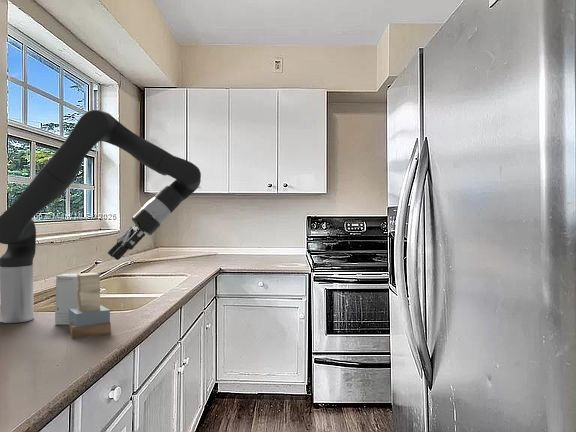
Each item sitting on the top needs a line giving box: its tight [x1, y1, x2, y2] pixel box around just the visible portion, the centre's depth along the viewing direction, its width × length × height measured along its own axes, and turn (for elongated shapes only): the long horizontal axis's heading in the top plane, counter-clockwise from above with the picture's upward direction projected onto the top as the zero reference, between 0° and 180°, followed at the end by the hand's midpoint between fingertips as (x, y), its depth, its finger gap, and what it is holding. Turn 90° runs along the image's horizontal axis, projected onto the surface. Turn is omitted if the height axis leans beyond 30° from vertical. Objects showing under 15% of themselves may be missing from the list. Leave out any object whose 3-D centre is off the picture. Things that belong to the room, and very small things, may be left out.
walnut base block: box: [68, 321, 112, 340], centre depth 145 cm, size 10×10×4 cm
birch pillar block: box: [76, 272, 101, 312], centre depth 145 cm, size 5×5×10 cm
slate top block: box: [69, 304, 111, 327], centre depth 145 cm, size 9×9×4 cm
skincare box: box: [54, 273, 78, 326], centre depth 156 cm, size 8×6×15 cm
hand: (112, 256), depth 147 cm, fingers open, 8 cm apart
